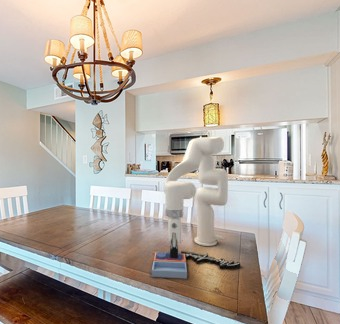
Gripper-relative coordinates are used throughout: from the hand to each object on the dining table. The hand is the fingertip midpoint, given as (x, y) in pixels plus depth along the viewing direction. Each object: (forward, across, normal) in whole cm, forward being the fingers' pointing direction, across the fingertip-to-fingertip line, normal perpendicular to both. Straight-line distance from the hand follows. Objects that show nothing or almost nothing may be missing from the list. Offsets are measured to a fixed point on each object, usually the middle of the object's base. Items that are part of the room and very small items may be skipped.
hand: (174, 256), depth 88 cm
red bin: (+7, +9, +2) cm, 11 cm away
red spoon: (+6, +9, +2) cm, 11 cm away
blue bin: (+7, 0, +2) cm, 7 cm away
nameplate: (+7, +12, -16) cm, 21 cm away
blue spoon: (+1, 0, +2) cm, 2 cm away
